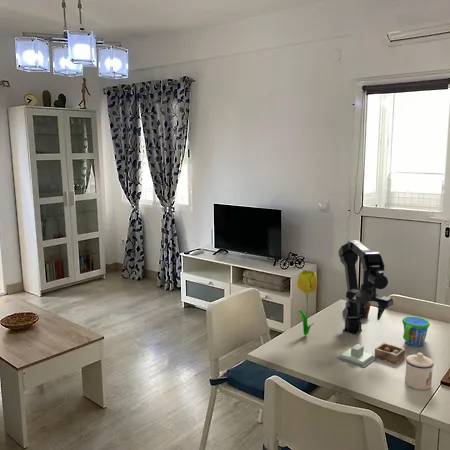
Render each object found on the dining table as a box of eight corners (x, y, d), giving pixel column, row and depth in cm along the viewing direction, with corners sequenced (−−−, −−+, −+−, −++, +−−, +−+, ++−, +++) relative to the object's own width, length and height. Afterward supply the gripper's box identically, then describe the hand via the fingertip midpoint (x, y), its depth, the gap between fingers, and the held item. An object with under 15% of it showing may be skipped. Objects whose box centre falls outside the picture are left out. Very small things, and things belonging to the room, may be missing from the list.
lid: (341, 357, 185) (341, 346, 184) (351, 350, 191) (351, 340, 190) (362, 364, 178) (363, 354, 177) (372, 357, 184) (373, 347, 183)
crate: (374, 356, 186) (374, 348, 185) (383, 350, 191) (383, 342, 191) (396, 364, 180) (396, 355, 179) (404, 357, 185) (405, 349, 185)
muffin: (349, 310, 238) (349, 291, 236) (371, 313, 233) (372, 294, 232) (345, 318, 227) (346, 298, 225) (368, 321, 223) (369, 301, 221)
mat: (336, 358, 185) (336, 357, 185) (350, 349, 192) (350, 348, 192) (364, 367, 176) (364, 367, 176) (377, 358, 184) (377, 357, 184)
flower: (317, 334, 207) (320, 270, 202) (312, 341, 200) (314, 274, 195) (299, 331, 211) (301, 267, 206) (293, 337, 204) (295, 272, 199)
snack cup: (414, 334, 207) (416, 313, 205) (436, 343, 198) (438, 320, 196) (392, 343, 198) (393, 320, 197) (414, 352, 190) (415, 328, 188)
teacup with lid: (432, 392, 159) (434, 361, 157) (403, 387, 162) (406, 356, 160) (431, 376, 170) (433, 347, 168) (404, 372, 173) (407, 343, 171)
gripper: (339, 281, 192) (338, 316, 195) (382, 291, 179) (380, 329, 182) (353, 275, 200) (351, 310, 203) (394, 284, 187) (392, 321, 190)
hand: (367, 317), depth 194 cm, fingers open, 9 cm apart
